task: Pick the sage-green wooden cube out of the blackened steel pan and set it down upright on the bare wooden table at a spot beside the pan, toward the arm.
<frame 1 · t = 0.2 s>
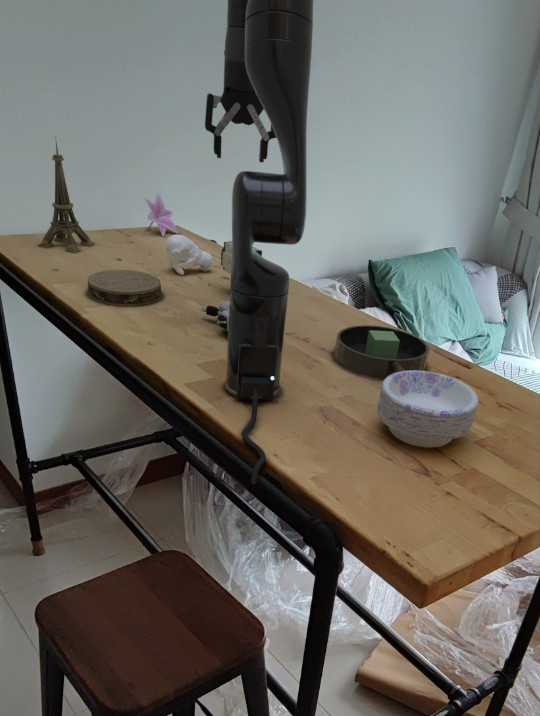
hand: (240, 159, 129), 29 cm above the table, tool pointing down, fingers open, 8 cm apart
pan: (379, 361, 129), on the table
robot toy: (238, 328, 136), on the table
paper bowls: (419, 435, 105), on the table
pneumatic valve: (238, 296, 153), on the table
eiffel tower: (67, 246, 172), on the table
cube: (379, 359, 128), resting on pan
lily: (159, 233, 192), on the table
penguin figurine: (190, 272, 164), on the table
wood log slice: (125, 295, 145), on the table
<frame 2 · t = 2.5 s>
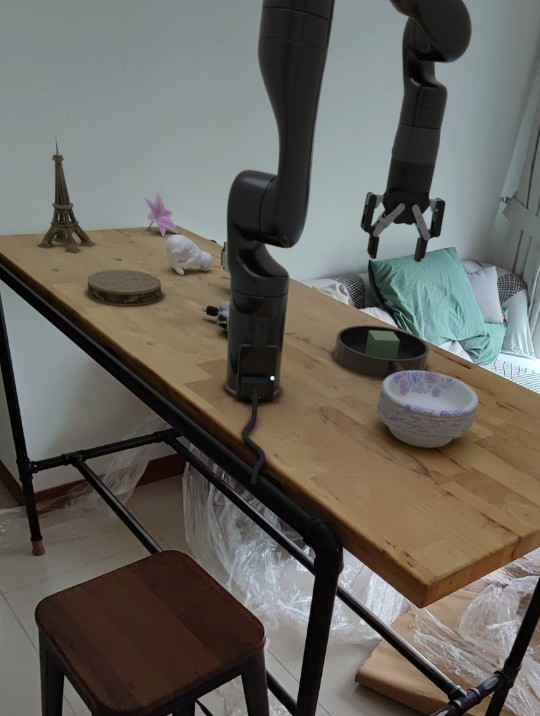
hand: (395, 259, 117), 19 cm above the table, tool pointing down, fingers open, 8 cm apart
nothing on the table moved.
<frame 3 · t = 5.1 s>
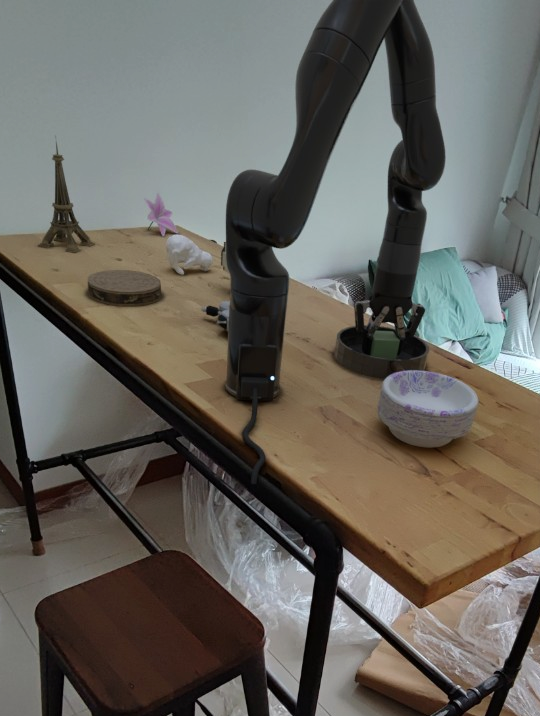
hand: (380, 355, 128), 1 cm above the table, tool pointing down, fingers closed on cube, 5 cm apart
cube: (379, 359, 128), resting on pan, touching gripper
everything else where it was.
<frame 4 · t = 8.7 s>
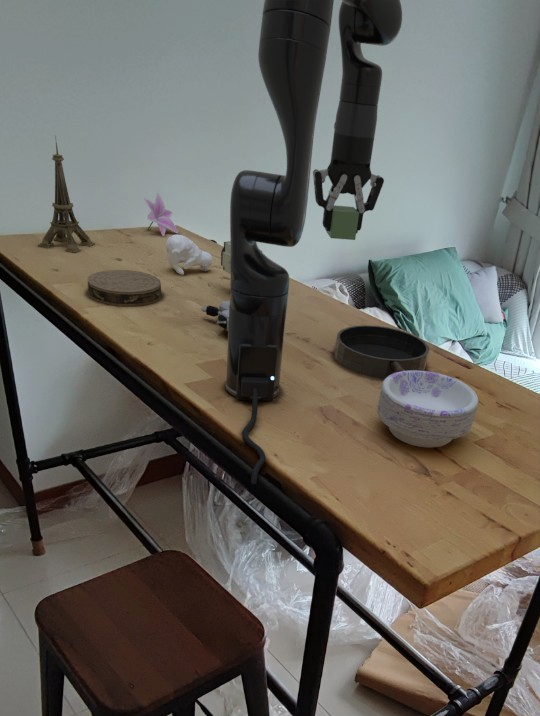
hand: (341, 231, 129), 20 cm above the table, tool pointing down, fingers closed on cube, 5 cm apart
cube: (340, 235, 130), point 19 cm above the table, touching gripper
everything else where it was.
when the fingers open (1 cm above the table, at t = 12.6 s): cube stays where it is, on the table.
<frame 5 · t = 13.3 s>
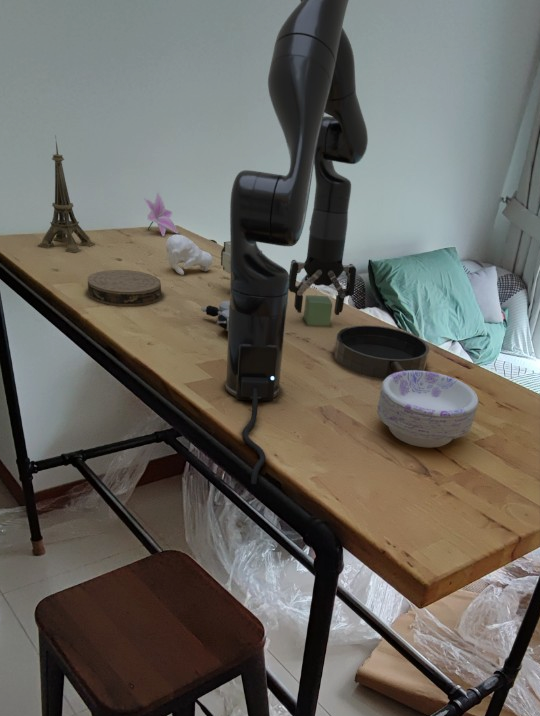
hand: (317, 312, 142), 2 cm above the table, tool pointing down, fingers open, 8 cm apart
cube: (316, 322, 143), on the table
everything else where it was.
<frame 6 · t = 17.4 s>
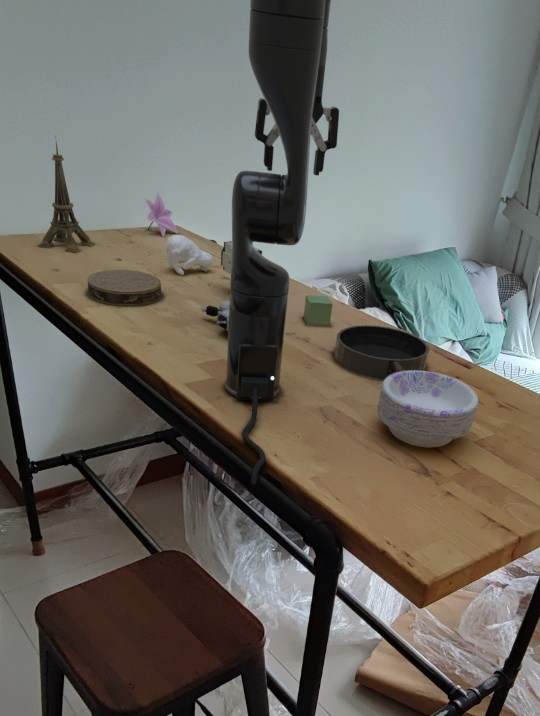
hand: (292, 172, 116), 30 cm above the table, tool pointing down, fingers open, 8 cm apart
nothing on the table moved.
at the end: cube inside the target area (0.2 cm from its centre), on the table; cube touching table; cube tilted 0° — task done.
